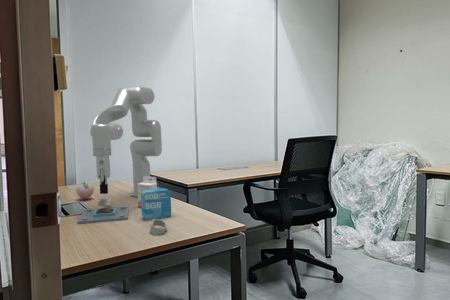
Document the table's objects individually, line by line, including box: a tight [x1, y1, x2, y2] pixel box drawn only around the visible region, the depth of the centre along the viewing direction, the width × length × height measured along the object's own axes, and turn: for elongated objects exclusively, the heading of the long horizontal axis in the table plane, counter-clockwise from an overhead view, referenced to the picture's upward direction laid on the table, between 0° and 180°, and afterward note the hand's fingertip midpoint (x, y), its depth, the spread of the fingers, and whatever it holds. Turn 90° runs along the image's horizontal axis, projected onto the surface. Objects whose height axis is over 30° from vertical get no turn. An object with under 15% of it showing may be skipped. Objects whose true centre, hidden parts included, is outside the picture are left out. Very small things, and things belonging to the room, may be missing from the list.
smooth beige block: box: [97, 198, 112, 214], centre depth 154 cm, size 5×5×6 cm
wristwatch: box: [149, 218, 168, 236], centre depth 130 cm, size 9×6×5 cm
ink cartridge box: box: [137, 176, 158, 208], centre depth 168 cm, size 9×5×15 cm, turn 65°
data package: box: [140, 187, 172, 221], centre depth 149 cm, size 12×4×12 cm, turn 114°
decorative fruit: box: [75, 181, 95, 200], centre depth 187 cm, size 9×8×10 cm
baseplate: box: [76, 205, 130, 225], centre depth 154 cm, size 20×20×2 cm
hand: (104, 193), depth 153 cm, fingers closed
